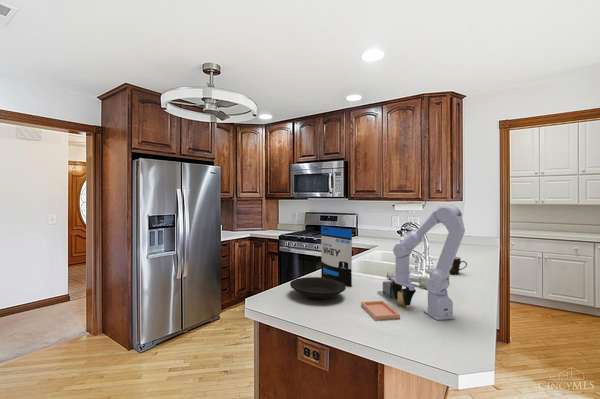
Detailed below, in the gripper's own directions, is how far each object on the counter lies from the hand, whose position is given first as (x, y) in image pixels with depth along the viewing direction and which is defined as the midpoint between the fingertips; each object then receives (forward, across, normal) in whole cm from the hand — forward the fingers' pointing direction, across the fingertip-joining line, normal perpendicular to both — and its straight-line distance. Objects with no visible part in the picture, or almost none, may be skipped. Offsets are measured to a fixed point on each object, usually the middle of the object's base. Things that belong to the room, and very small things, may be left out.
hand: (402, 302), depth 135 cm
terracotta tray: (+1, -4, +14) cm, 14 cm away
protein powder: (+2, +42, +14) cm, 44 cm away
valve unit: (+1, +12, -2) cm, 12 cm away
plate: (+2, +22, +32) cm, 38 cm away
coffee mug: (+2, +37, -61) cm, 71 cm away
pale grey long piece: (+2, +28, -22) cm, 36 cm away
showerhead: (+2, +28, -39) cm, 47 cm away
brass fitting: (+2, 0, 0) cm, 2 cm away
